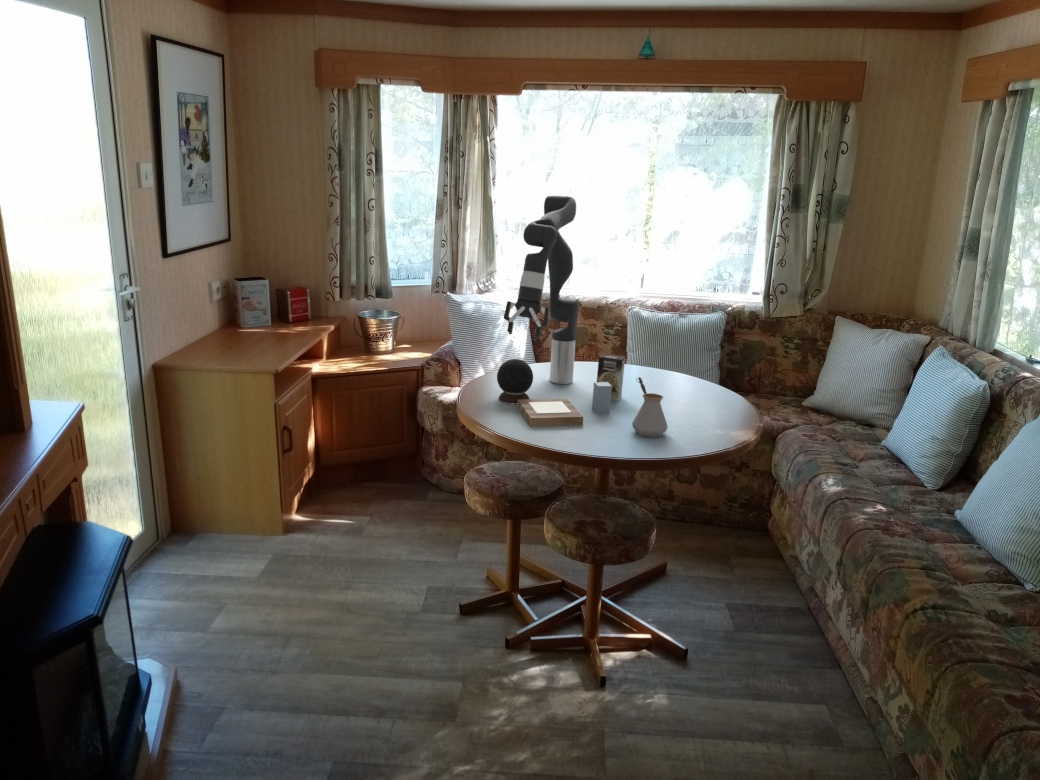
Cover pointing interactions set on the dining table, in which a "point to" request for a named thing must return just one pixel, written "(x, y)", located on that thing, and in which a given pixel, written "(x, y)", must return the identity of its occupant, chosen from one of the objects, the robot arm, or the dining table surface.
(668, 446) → the dining table surface
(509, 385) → the black ball on pedestal
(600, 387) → the slate block
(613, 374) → the coffee box
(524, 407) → the wooden board
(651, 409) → the coffee pot
